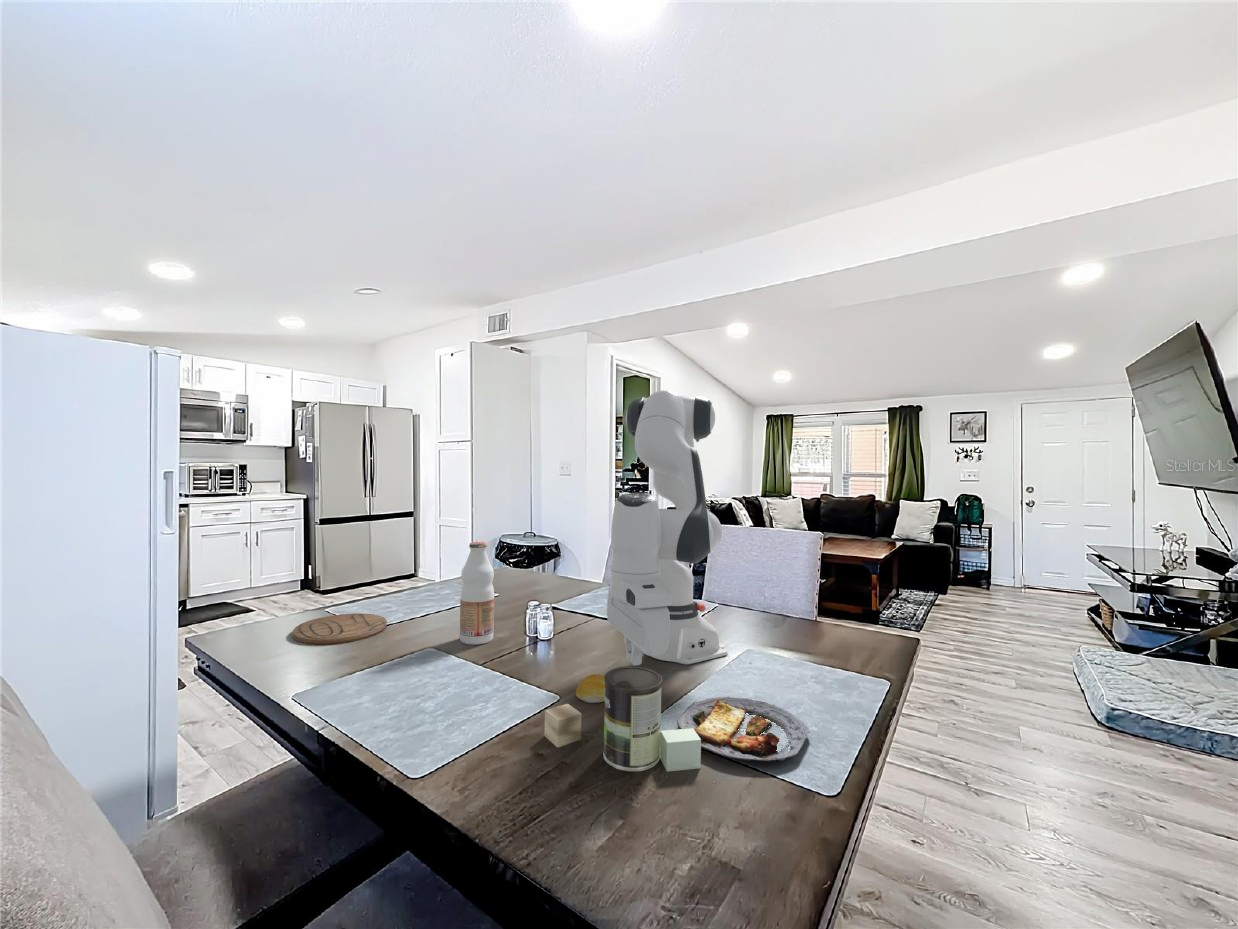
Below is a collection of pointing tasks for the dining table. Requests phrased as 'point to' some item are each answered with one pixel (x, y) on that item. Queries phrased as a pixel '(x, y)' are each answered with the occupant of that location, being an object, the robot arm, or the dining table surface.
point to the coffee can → (632, 718)
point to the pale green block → (680, 749)
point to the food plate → (725, 717)
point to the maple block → (562, 725)
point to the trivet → (339, 629)
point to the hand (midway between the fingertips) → (633, 662)
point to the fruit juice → (477, 597)
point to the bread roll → (592, 689)
